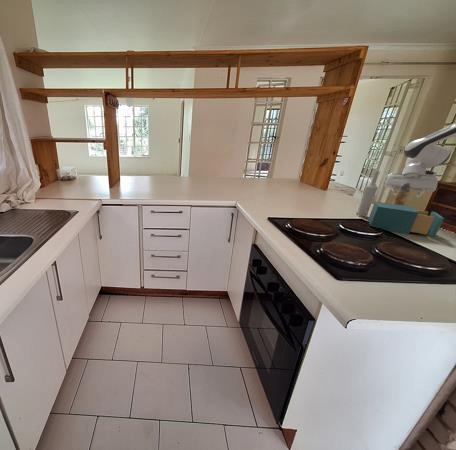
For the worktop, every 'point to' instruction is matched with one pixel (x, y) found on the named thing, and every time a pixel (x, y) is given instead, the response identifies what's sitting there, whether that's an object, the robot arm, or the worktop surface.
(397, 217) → the cabinet
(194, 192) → the worktop surface
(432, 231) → the drawer
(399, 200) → the pepper mill
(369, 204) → the bottle
